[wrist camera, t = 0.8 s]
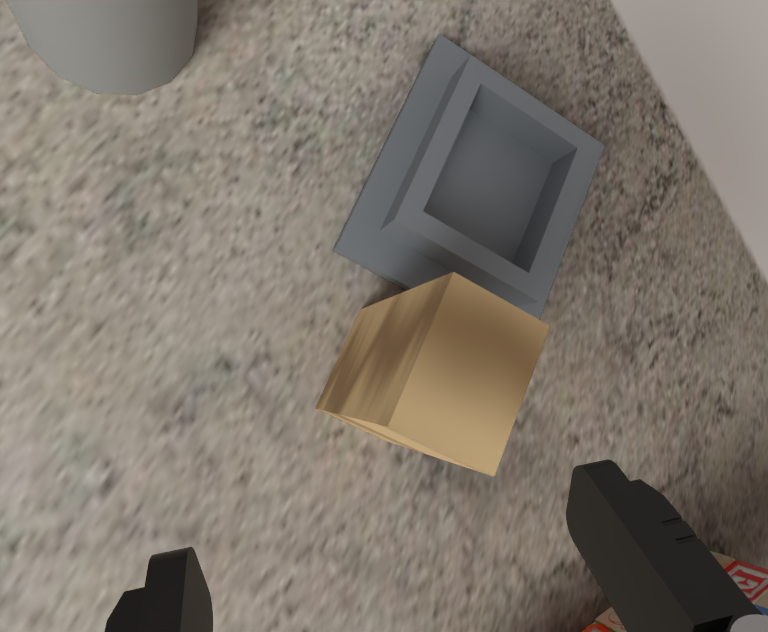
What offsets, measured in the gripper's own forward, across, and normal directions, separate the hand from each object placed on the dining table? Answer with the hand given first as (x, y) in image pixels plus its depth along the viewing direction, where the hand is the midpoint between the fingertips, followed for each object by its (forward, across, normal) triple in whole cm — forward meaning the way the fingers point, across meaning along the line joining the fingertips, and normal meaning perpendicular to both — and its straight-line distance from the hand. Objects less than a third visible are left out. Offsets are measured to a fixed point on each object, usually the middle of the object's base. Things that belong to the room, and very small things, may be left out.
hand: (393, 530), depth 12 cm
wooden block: (+17, -2, +9) cm, 20 cm away
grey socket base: (+24, -11, +2) cm, 26 cm away
